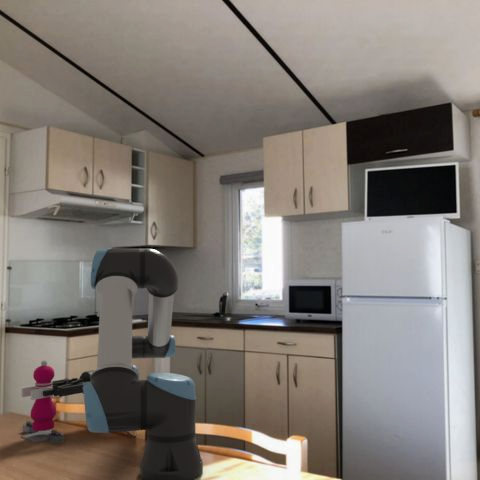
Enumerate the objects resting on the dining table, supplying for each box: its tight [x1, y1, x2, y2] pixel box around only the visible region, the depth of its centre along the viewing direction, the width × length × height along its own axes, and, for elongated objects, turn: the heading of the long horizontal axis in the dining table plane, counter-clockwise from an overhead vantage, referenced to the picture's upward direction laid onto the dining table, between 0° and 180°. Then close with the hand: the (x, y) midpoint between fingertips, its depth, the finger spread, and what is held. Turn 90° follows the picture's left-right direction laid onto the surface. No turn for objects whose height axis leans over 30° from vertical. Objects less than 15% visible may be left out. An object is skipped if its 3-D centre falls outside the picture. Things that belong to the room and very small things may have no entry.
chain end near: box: [47, 429, 65, 445], centre depth 160 cm, size 4×3×3 cm
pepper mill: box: [30, 360, 57, 432], centre depth 166 cm, size 7×7×20 cm
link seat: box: [20, 429, 53, 444], centre depth 165 cm, size 9×9×1 cm
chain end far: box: [22, 421, 39, 435], centre depth 170 cm, size 4×3×3 cm
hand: (26, 393), depth 162 cm, fingers closed on pepper mill, 5 cm apart
